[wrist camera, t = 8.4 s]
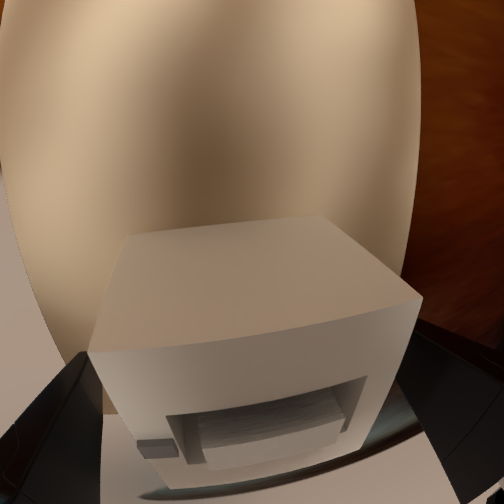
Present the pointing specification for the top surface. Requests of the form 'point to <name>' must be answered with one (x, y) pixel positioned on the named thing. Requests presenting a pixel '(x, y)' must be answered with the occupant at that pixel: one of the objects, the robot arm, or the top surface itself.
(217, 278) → the box
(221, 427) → the post
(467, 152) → the top surface
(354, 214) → the maple board
